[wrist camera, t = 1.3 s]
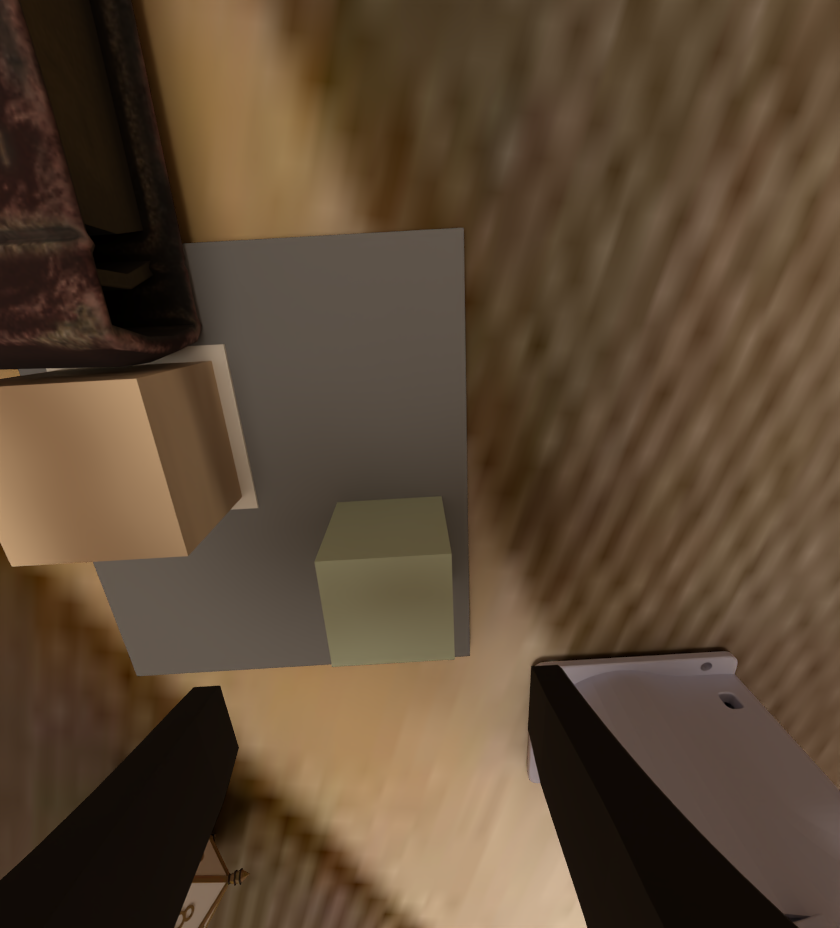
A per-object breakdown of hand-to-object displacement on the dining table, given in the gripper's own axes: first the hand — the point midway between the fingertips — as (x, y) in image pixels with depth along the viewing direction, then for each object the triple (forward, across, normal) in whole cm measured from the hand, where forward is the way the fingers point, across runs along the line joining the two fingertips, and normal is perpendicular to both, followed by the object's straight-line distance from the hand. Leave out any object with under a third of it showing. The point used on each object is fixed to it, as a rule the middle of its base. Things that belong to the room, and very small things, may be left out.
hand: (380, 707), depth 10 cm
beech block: (+7, +8, -5) cm, 12 cm away
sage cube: (+7, 0, 0) cm, 7 cm away
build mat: (+8, +4, -2) cm, 9 cm away
